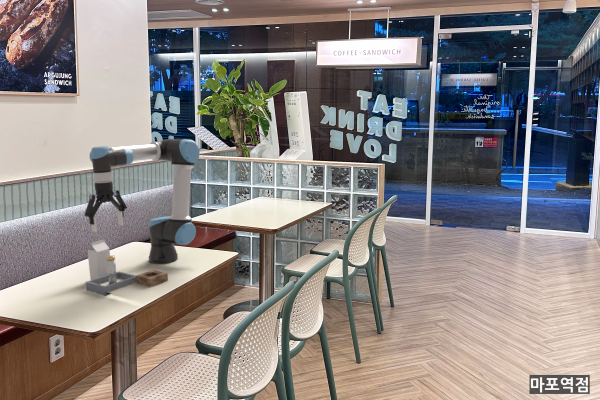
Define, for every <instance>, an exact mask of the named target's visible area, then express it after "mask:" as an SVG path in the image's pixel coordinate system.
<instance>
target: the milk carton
mask: <svg viewBox="0 0 600 400" xmlns="http://www.w3.org/2000/svg"><path fill="white" fill-rule="evenodd" d="M90 244H91V245H90V246H89V247H88V249H87V258H88V268H89V277H90V280H94V279H97V278H100V277H103V276H106V275H108V268H107V256H111V251H110V247H109V246H108V245H107V243H106V242H105V239H101V240H98V241H96V240H95V241H93V242H91V243H90ZM90 280H89V281H90Z"/></svg>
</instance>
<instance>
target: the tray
mask: <svg viewBox="0 0 600 400" xmlns="http://www.w3.org/2000/svg"><path fill="white" fill-rule="evenodd" d="M116 275H117V279H119V278H121V279H123V280H120V281H117V282H116V283H113V284H110V285H109V284H107V285H101V284H102V283H103V284H104V283H107V282H109V279H108V275H106V276H103V277H100V278H97V279H94V280H87V281H85V285H86V286H85V287H86V291H88V292H91V293H94V294H98V295H101V296H104V297H107V296H110V295H112V293H111V292H112V291H114V290H117V289H120V288H124V287H127V286H129V285H132V284H135V283H137V282H136V274H132V273H128V272H124V271H120V270H119V271H116Z"/></svg>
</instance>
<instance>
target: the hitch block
mask: <svg viewBox="0 0 600 400" xmlns="http://www.w3.org/2000/svg"><path fill="white" fill-rule="evenodd" d="M135 275H136V274H135ZM168 276H169V275H168V272H164V271H160V270H155V269H152V270H148V271H146V272H143V273H140V274H137V275H136V282H135V283H136V284H138V285H143V286H147V287H151V288H152V287H154V286H156V285H160V284H163V283H165V282H168V281H169V277H168Z"/></svg>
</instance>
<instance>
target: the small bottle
mask: <svg viewBox="0 0 600 400" xmlns="http://www.w3.org/2000/svg"><path fill="white" fill-rule="evenodd" d="M116 265H117V264H116V256H115V255H110V256H107V268H108V279H109V281H108V285H110V284H113V283H116V282H118V278H117V275H116V272H117V266H116Z"/></svg>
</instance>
